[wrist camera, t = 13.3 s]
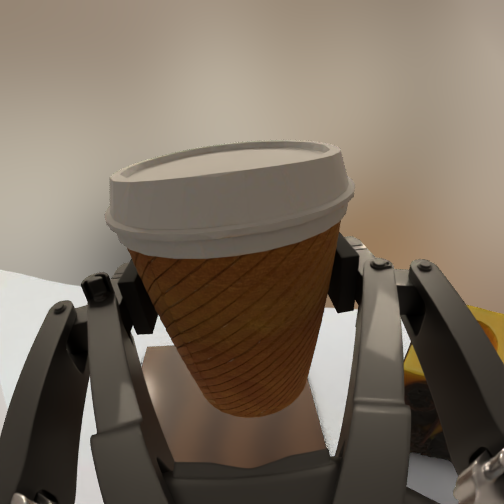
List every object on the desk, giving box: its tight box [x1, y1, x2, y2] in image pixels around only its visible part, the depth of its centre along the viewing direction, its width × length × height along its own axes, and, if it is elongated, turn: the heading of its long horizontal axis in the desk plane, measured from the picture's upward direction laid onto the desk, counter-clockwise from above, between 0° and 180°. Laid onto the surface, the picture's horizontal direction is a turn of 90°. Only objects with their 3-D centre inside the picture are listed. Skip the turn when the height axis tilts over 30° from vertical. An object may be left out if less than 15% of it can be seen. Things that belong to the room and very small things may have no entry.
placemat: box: [142, 346, 326, 468], centre depth 25 cm, size 18×18×1 cm
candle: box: [404, 305, 504, 462], centre depth 18 cm, size 10×10×10 cm
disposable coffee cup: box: [105, 140, 355, 418], centre depth 13 cm, size 10×10×12 cm
